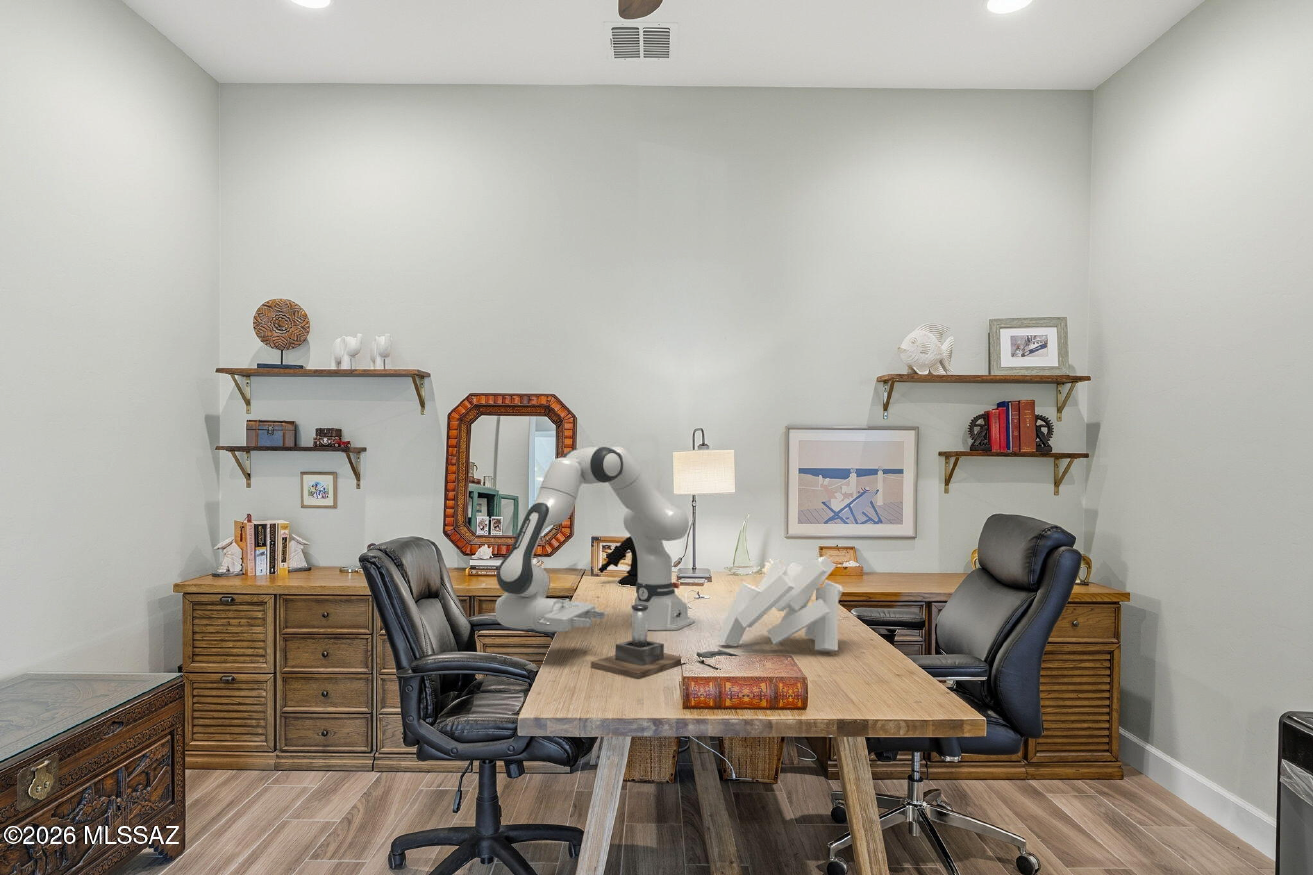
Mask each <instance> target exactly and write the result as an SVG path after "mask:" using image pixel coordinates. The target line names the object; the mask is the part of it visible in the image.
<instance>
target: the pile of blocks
mask: <svg viewBox="0 0 1313 875" xmlns="http://www.w3.org/2000/svg"><path fill="white" fill-rule="evenodd" d="M836 567H837V566H836V565H835V564H834V563H833V562H832V561H831V560H830V559H829V558H828V557H827V556H820V557H818V559H814V558H813V559H812V560H810V562H809V563H807V564H806V565H805V566H804V567H802V565H801V564H800V563H798V562H794V561H793V562H792V563H791V564H789V565H788V566H787V565H785V564H783V563H782V562H780V561H778V560H777V559H774V560H773V562H772V563H771V565H770V566H769V568H768V570H767V572H766V573H765V575H764V576H763V577H762V580H760V581H761V582H760V583H759V584H758V586H757V587H756V586H753V585H751V584H748V583H745V582H741V584H740V587H739V589H738V590H737V593H736V595H735V597H734V599H733V601H732V604H731V605H730V608H729V610H728V612H727V615H725V616H726V617H725V618H724V621H723V623H722V625H721V627H720V629H719V631H718V633H717V636H716V638H717V639H719V640H720V641H721V642H722V643H723V644H726V645H728V646H730V647H731V646H732V647H734V646H733V645H738V646H739V645H740V642H741V641H742V638H743V636H744V634H745V632H746V629H747V628H753V626H755V625H756V624H757V623H758V622H759V621H761V619H762V618H763V617H764V616H765V615H767V614H768V613H769V612H770V611H771V610H772V609H776V611H777V612H784V611H785V612H784V614H783V616H782V618H781V620H780V622H779V623H777V624H775V625H774V626H772V627H770V628H769V629H767V630H766V633H767V635H768V636H769V638H770V640H771V641H772V643H773V645H775V644H776V645H777V644H780V643H781V642H782V643H783V642H784V641H786V640H787V639H791V638H792V636H794V635H795V634H797V633H799V632H801V631H802V630H804V637H806V638H809V639H811V640H814V650H815V651H818V652H823V651H828V652H827V653H831V652H834V651H835V652H836V651H838V650H839V601H840V598H841V596H842V593H843V586H842V585H841V584H837V583H835V582H832V581H829V580H827V579H826V578H828V576H829V575H830V574H831V573H832V571H833V570H834V569H836ZM823 582H824V583H823ZM822 583H823V585H822V586H820V585H821V584H822ZM819 586H820V587H819ZM814 593H815V601H813V602H812V603H811V604H809V603H810V601H811V598H812V597H813V595H814Z"/></svg>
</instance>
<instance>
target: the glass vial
mask: <svg viewBox="0 0 1313 875" xmlns="http://www.w3.org/2000/svg"><path fill="white" fill-rule="evenodd" d="M631 610H632V614H631V617H632V618H631V619H632V623H631V640H632V646H634V647H638V648H644V647H647V641H648V630H647V616H648V605H644V604H635V605H634V604H631Z"/></svg>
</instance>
